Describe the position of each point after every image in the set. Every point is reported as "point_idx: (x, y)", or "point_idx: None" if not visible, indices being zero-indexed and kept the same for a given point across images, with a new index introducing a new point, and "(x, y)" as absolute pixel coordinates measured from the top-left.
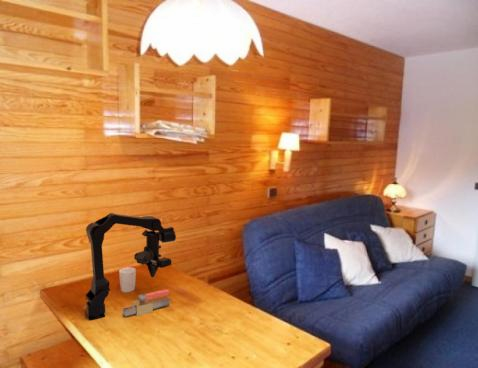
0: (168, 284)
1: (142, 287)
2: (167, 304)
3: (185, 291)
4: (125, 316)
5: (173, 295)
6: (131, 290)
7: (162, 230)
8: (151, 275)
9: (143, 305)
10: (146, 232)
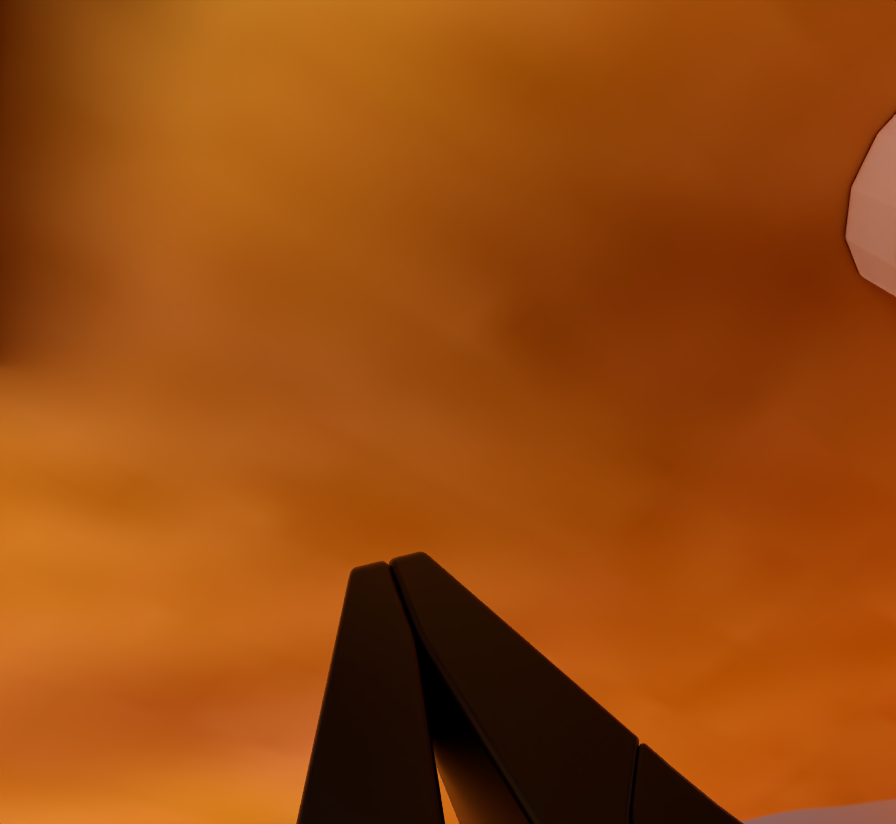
0: (565, 666)
1: (793, 385)
2: None
3: (212, 747)
4: None
5: (213, 588)
6: (865, 185)
7: None
8: (395, 607)
9: None
10: None
